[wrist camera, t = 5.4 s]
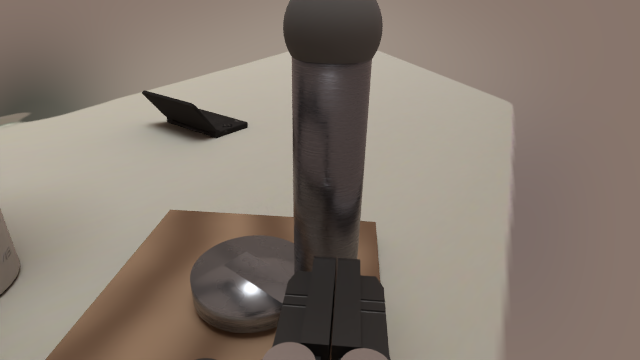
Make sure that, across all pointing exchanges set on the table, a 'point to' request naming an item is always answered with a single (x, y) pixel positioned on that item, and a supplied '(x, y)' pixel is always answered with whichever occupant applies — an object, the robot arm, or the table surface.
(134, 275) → the walnut stand base
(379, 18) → the grey upright post stand
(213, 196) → the table surface
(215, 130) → the handheld gaming console
